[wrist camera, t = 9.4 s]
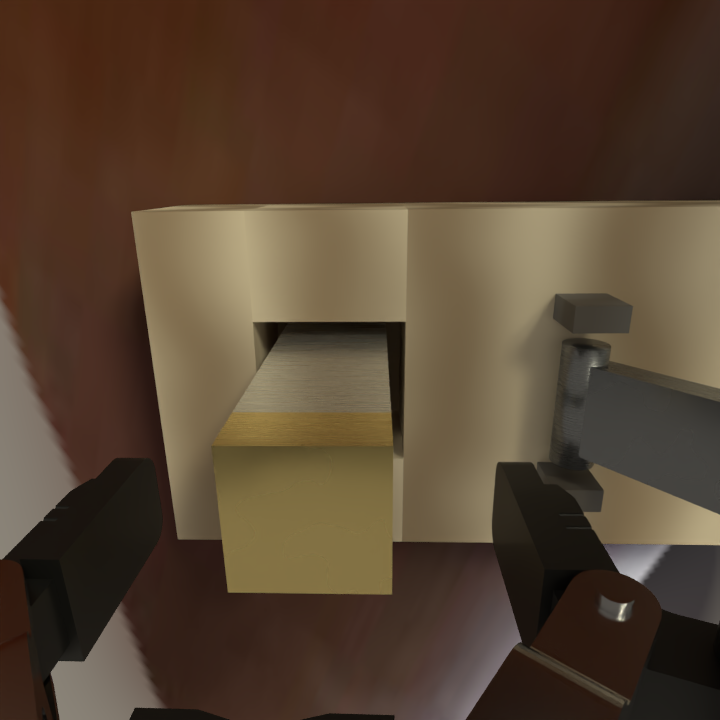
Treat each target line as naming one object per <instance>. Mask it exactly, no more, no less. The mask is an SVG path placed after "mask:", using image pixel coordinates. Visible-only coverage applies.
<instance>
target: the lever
mask: <svg viewBox="0 0 720 720" xmlns="http://www.w3.org/2000/svg"><path fill="white" fill-rule="evenodd" d="M610 352H611V345H610V344H608V343H606V342H603V341H600V340H595V339H588V338H570V339H565V340H563V341H562V348H561V356H560V365H559V374H558V382H557V391H556V400H555V408H554V417H553V425H552V434H551V443H550V451H549V459H550V460H551V462H553V463H554V464H555V465H557V466H559V467H562V468H565V469H569V470H576V471H583V470H588V469H590V468H592V467H593V466H594V463H595V464H598V465H600V466H602V467H605V468H607V469H610V470H612V471H615V472H617V473H620V474H622V475H624V476H627V477H629V478H632V479H634V480H637V481H639V482H641V483H644V484H646V485H649V486H651V487H654V488H656V489H659V490H661V491H663V492H666V493H668V494H671V495H673V496H676V497H678V498H680V499H683V500H685V501H688V502H690V503H693V504H695V505H697V506H700V507H702V508H705V509H707V510H710V511H712V512H715V513H717V514H719V515H720V389H719V388H715V387H711V386H707V385H704V384H700V383H696V382H692V381H688V380H684V379H680V378H676V377H672V376H668V375H664V374H660V373H656V372H652V371H648V370H644V369H640V368H636V367H632V366H629V365H625V364H621V363H617V362H613V361H609V359H610Z"/></svg>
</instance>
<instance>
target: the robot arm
mask: <svg viewBox="0 0 720 720" xmlns="http://www.w3.org/2000/svg"><path fill="white" fill-rule="evenodd" d="M162 521H163V518H162V509H161V503H160V497H159V491H158V484H157V478H156V472H155V467H154V463H153V462H152V460H151V459H149V458H116V459H114V460H113V461H112V462H111V463H110V464H109V465H108V466H107V467H106V468H105V469H104V470H103V472H102V473H101V474H100V475H99V476H98V477H97V478H96V479H90V480H89V481H87V482H85V483H84V484H82V485H80V486H78V487H77V488H75V489H73V490H72V491H70V492H69V493H68V494H67V495H66V496H65V497H64V498H63V499H62V500H61V501H60V502H59V503H58V504H57V505H56V508H55V509H52V510H51V511H50V512H49V513H48V514H47V515H46V516H45V517H44V520H43V521H40V522H39V523H38V524H37V525H36V526H35V527H34V528H33V529H32V530H31V531H30V532H29V533H28V534H27V535H26V536H25V537H24V538H23V539H22V540H21V541H20V542H19V543H18V544H17V545H16V546H15V547H14V548H13V549H12V550H11V551H10V552H9V553H8V555H6V556H5V557H4V558H3V559H2V560H0V720H59V714H58V708H57V702H56V696H55V691H54V684H53V680H52V676H51V671H52V669H53V668H54V667H55V665H56V664H57V662H58V661H85V659H86V657H87V656H88V654H89V652H90V651H91V649H92V648H93V646H94V644H95V643H96V641H97V640H98V638H99V636H100V635H101V633H102V631H103V630H104V628H105V626H106V625H107V623H108V622H109V620H110V618H111V617H112V615H113V613H114V612H115V610H116V609H117V607H118V606H119V604H120V602H121V601H122V599H123V598H124V596H125V594H126V593H127V591H128V589H129V588H130V586H131V585H132V583H133V581H134V580H135V578H136V576H137V575H138V573H139V572H140V570H141V568H142V567H143V565H144V564H145V562H146V560H147V559H148V557H149V555H150V554H151V552H152V551H153V549H154V547H155V546H156V544H157V542H158V540H159V538H160V535H161V530H162ZM492 537H493V544H494V549H495V552H496V556H497V559H498V563H499V566H500V569H501V573H502V576H503V579H504V583H505V586H506V589H507V593H508V596H509V600H510V603H511V606H512V610H513V613H514V616H515V620H516V623H517V626H518V630H519V633H520V637H521V640H522V643H521V642H520V643H518V644H517V645H516V646H515V647H514V648H513V649H512V650H511V652H510V653H509V655H508V656H507V658H506V659H505V661H504V662H503V664H502V665H501V667H500V668H499V670H498V672H497V673H496V675H495V676H494V678H493V679H492V681H491V682H490V684H489V685H488V687H487V688H486V690H485V691H484V693H483V694H482V696H481V697H480V699H479V700H478V702H477V703H476V705H475V706H474V708H473V710H472V711H471V713H470V714H469V716H468V717H467V719H466V720H720V622H719V625H717V624H713V623H709V622H704V621H700V620H697V619H693V618H689V617H685V616H680V615H677V614H673V613H671V612H668V611H665V610H663V609H661V607H660V604H659V602H658V600H657V599H656V597H655V596H654V595H653V594H652V592H651V591H649V590H648V589H647V588H646V587H645V586H643V585H642V584H641V583H639V582H638V581H636V580H634V579H632V578H630V577H628V576H626V575H623V574H620V573H619V571H618V570H617V568H616V566H615V565H614V563H613V561H612V560H611V558H610V556H609V555H608V553H607V551H606V550H605V548H604V546H603V544H602V543H601V541H600V539H599V538H598V536H597V534H596V533H595V531H594V530H592V526H591V524H590V523H589V521H588V519H587V518H586V516H584V513H583V511H582V509H581V507H580V506H579V504H578V502H577V501H576V499H575V498H574V497H573V496H572V495H571V494H569V493H568V492H567V491H565V490H564V489H563V488H561V487H560V486H559V485H558V484H544V483H543V482H542V480H541V478H540V476H539V474H538V472H537V470H536V468H535V466H534V464H533V463H532V462H498V463H497V466H496V473H495V486H494V499H493V512H492ZM130 720H229V719H226V718H223V717H220V716H216V715H213V714H210V713H207V712H204V711H201V710H195V709H161V708H135V709H134V711H133V713H132V715H131V717H130ZM302 720H394V715H365V714H331V713H329V714H325V715H320V716H316V717H311V718H307V719H302Z"/></svg>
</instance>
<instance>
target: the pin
mask: <svg viewBox="0 0 720 720" xmlns="http://www.w3.org/2000/svg"><path fill="white" fill-rule="evenodd" d="M211 447H212V456H213V465H214V474H215V482H216V491H217V500H218V509H219V518H220V527H221V535H222V544H223V553H224V562H225V571H226V579H227V588H228V592H229V593H311V594H392V539H393V434H392V418H391V401H390V385H389V369H388V353H387V337H386V322H288V324H287V325H286V327H285V328H284V330H283V332H282V333H281V335H280V336H279V338H278V340H277V341H276V343H275V345H274V346H273V348H272V349H271V351H270V353H269V354H268V356H267V357H266V359H265V361H264V362H263V364H262V365H261V367H260V369H259V370H258V372H257V373H256V375H255V377H254V378H253V380H252V381H251V383H250V385H249V386H248V388H247V389H246V391H245V393H244V394H243V396H242V397H241V399H240V401H239V402H238V404H237V405H236V407H235V409H234V410H233V412H232V413H231V415H230V417H229V418H228V420H227V421H226V423H225V425H224V426H223V428H222V429H221V431H220V433H219V434H218V436H217V437H216V439H215V441H214V442H213V444H212V445H211Z"/></svg>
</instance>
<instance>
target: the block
mask: <svg viewBox="0 0 720 720" xmlns="http://www.w3.org/2000/svg"><path fill="white" fill-rule="evenodd" d="M131 214H132V221H133V228H134V235H135V242H136V249H137V256H138V263H139V270H140V277H141V284H142V291H143V298H144V305H145V312H146V319H147V326H148V333H149V340H150V347H151V354H152V361H153V368H154V375H155V382H156V389H157V396H158V403H159V410H160V417H161V424H162V431H163V438H164V445H165V452H166V459H167V466H168V473H169V480H170V487H171V494H172V501H173V508H174V515H175V522H176V529H177V536H178V539H198V540H222V535H221V527H220V518H219V509H218V500H217V491H216V482H215V474H214V465H213V456H212V447H211V445H212V444H213V442H214V441H215V439H216V437H217V436H218V434H219V433H220V431H221V429H222V428H223V426H224V425H225V423H226V421H227V420H228V418H229V417H230V415H231V413H232V412H233V410H234V409H235V407H236V405H237V404H238V402H239V401H240V399H241V397H242V396H243V394H244V393H245V391H246V389H247V388H248V386H249V385H250V383H251V381H252V380H253V378H254V377H255V375H256V373H257V372H258V370H259V369H260V367H261V365H262V364H263V362H264V361H265V359H266V357H267V356H268V354H269V353H270V351H271V349H272V348H273V346H274V345H275V343H276V341H277V340H278V338H279V336H280V335H281V333H282V332H283V330H284V328H285V327H286V325H287V324H288V322H386V337H387V353H388V369H389V385H390V401H391V418H392V434H393V539H392V542H484V543H493V537H492V512H493V499H494V486H495V473H496V466H497V463H498V462H532V463H533V464H534V466H535V468H536V470H537V472H538V474H539V476H540V478H541V480H542V482H543V483H544V484H558V485H559V486H560V487H561V488H563V489H564V490H565V491H567V492H568V493H569V494H571V495H572V496H573V497H574V498H575V499H576V501H577V502H578V504H579V506H580V507H581V509H582V511H583V513H584V516H586V518H587V519H588V521H589V523H590V524H591V526H592V530H594V531H595V533H596V534H597V536H598V538H599V539H600V541H601V543H602V544H674V545H683V544H684V545H720V515H719V514H717V513H715V512H712V511H710V510H707V509H705V508H702V507H700V506H697V505H695V504H693V503H690V502H688V501H685V500H683V499H680V498H678V497H676V496H673V495H671V494H668V493H666V492H663V491H661V490H659V489H656V488H654V487H651V486H649V485H646V484H644V483H641V482H639V481H637V480H634V479H632V478H629V477H627V476H624V475H622V474H620V473H617V472H615V471H612V470H610V469H607V468H605V467H602V466H600V465H598V464H595V463H594V466H593V467H592V468H590V469H588V470H583V471H576V470H569V469H565V468H562V467H559V466H557V465H555V464H554V463H553V462H551V460H550V459H549V451H550V443H551V434H552V425H553V417H554V408H555V400H556V391H557V382H558V374H559V365H560V356H561V348H562V341H563V340H565V339H570V338H588V339H595V340H600V341H603V342H606V343H608V344H610V345H611V352H610V359H609V361H613V362H617V363H621V364H625V365H629V366H632V367H636V368H640V369H644V370H648V371H652V372H656V373H660V374H664V375H668V376H672V377H676V378H680V379H684V380H688V381H692V382H696V383H700V384H704V385H707V386H711V387H715V388H719V389H720V200H652V201H548V202H444V203H340V204H236V205H182V206H174V207H167V208H159V209H151V210H143V211H135V212H131Z"/></svg>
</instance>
